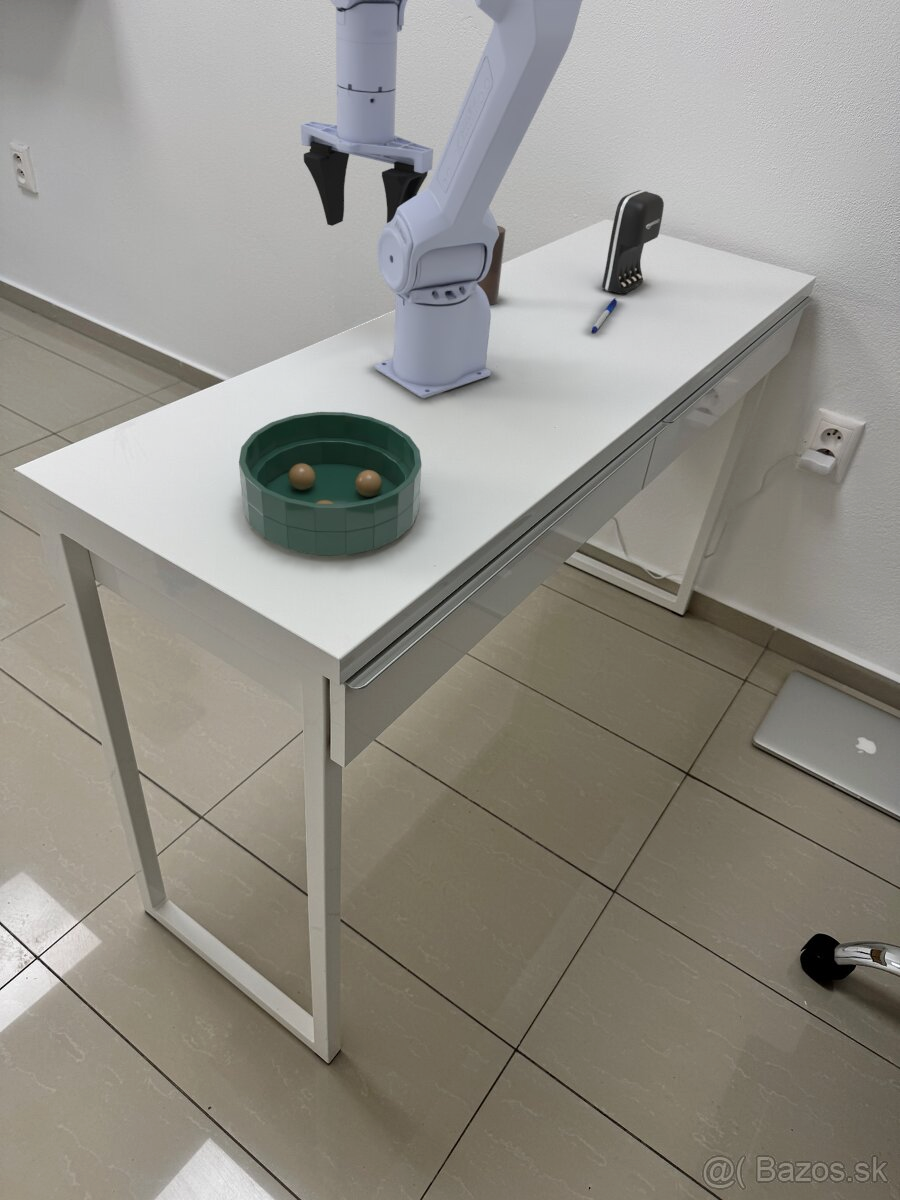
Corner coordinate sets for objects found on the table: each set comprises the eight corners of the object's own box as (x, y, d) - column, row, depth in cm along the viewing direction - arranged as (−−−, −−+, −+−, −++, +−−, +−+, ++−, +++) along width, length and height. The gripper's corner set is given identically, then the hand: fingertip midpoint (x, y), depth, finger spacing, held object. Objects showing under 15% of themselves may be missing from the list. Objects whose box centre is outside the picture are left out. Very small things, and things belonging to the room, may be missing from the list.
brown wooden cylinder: (486, 293, 109) (493, 223, 103) (502, 301, 107) (510, 230, 102) (468, 298, 107) (474, 226, 102) (484, 307, 105) (492, 234, 100)
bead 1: (305, 478, 73) (305, 455, 72) (321, 490, 72) (320, 467, 71) (283, 486, 72) (282, 463, 71) (298, 498, 71) (297, 475, 70)
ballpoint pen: (610, 303, 110) (611, 295, 109) (617, 304, 109) (618, 296, 109) (590, 333, 102) (591, 325, 101) (597, 335, 102) (599, 327, 101)
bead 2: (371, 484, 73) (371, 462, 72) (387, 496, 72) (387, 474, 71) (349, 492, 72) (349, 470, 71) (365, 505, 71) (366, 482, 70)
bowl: (350, 446, 79) (350, 396, 76) (452, 520, 71) (457, 468, 68) (212, 496, 71) (205, 443, 68) (309, 585, 64) (307, 530, 61)
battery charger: (625, 299, 111) (645, 204, 103) (599, 290, 112) (617, 196, 105) (650, 285, 115) (671, 193, 108) (625, 276, 117) (644, 186, 109)
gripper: (280, 78, 84) (286, 225, 93) (409, 106, 79) (403, 257, 88) (322, 69, 89) (324, 209, 98) (446, 94, 84) (437, 239, 93)
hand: (364, 231), depth 93 cm, fingers open, 7 cm apart
